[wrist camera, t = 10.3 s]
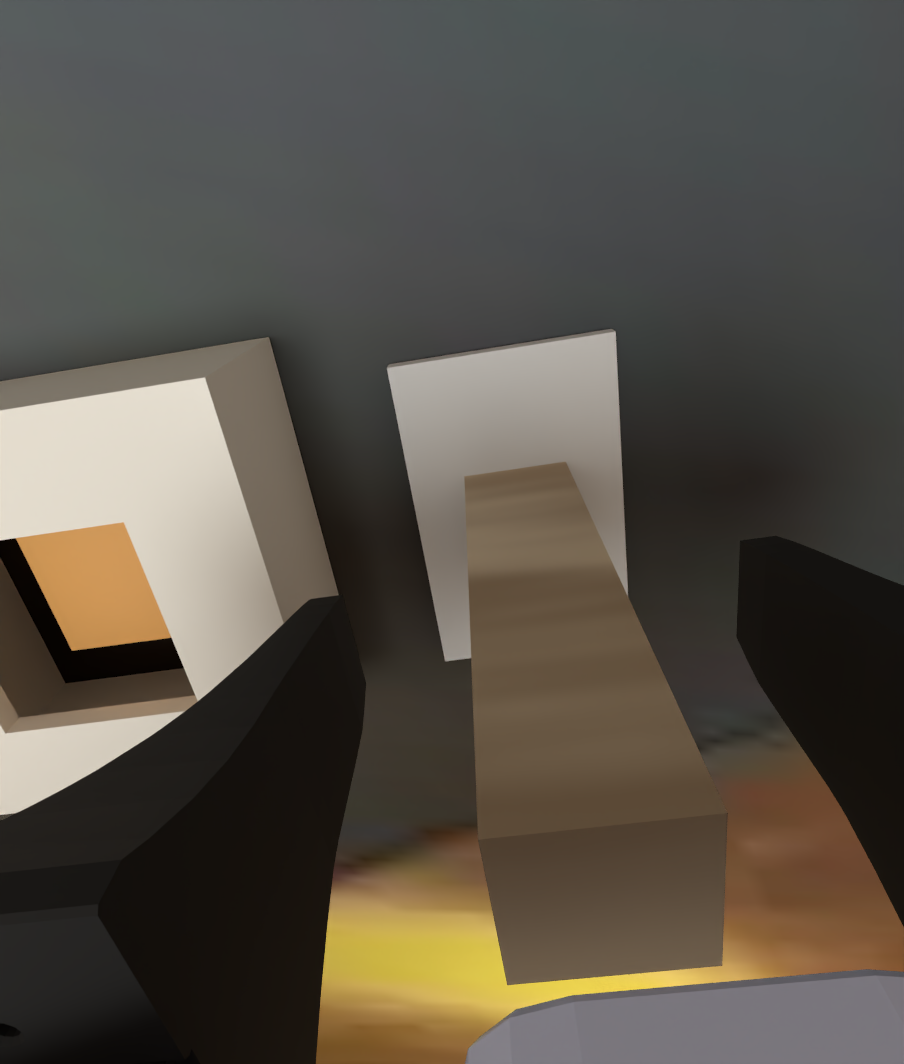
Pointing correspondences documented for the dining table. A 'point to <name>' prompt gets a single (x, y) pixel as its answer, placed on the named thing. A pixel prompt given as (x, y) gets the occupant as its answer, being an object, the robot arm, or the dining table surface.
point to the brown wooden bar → (580, 751)
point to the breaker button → (95, 586)
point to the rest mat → (506, 445)
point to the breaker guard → (151, 539)
